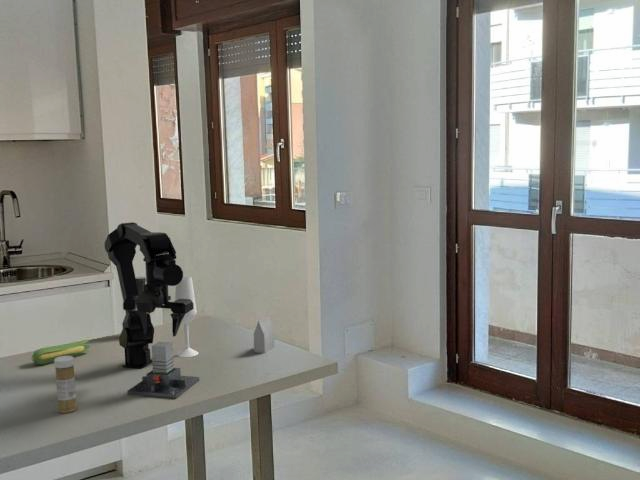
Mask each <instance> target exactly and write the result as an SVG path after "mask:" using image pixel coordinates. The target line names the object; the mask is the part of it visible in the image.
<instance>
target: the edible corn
mask: <svg viewBox="0 0 640 480" xmlns="http://www.w3.org/2000/svg"><path fill="white" fill-rule="evenodd" d="M89 341H90V340H89V339H84V340H79V341H74V342H69V343H64V344H59V345H53V346H47V347H45V346H44V347H40V348H39V349H36V350H34V352H33V354H32V356H31V361H32V362H34V363H35V364H36V365H40V366H44V365H48V364H53V363H54V360H55V358H57V357H60V356H72V357H74V358H75V357H80V356H83V355H87V353H88V352H89V351H88V350H89V349H90V348H91V345H88V344H86V343H88V342H89Z"/></svg>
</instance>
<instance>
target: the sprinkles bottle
mask: <svg viewBox="0 0 640 480" xmlns="http://www.w3.org/2000/svg"><path fill="white" fill-rule="evenodd" d="M74 358H75V357H72V356H60V357H57V358H55V360H54V362H53V363H54V364H53V366H54V369H55V384H56V393H57V394H56V395H57V404H58V406H57V407H58V412H59V413H61V414H68V413H73V412H75V411H76V410H78V406H77V386H76V385H77V384H76V377H75V368H74V367H75V359H74Z"/></svg>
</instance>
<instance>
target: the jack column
mask: <svg viewBox="0 0 640 480" xmlns="http://www.w3.org/2000/svg"><path fill="white" fill-rule="evenodd" d="M173 349H174V347H173V342H171V341H170V342H169V341H158V342H156V343H154V344H153V345H151V360H152V362H151V363H152V370H153V374H163V375H168V374H170V373H171V372H172V371H174V368H175V364H174V362H175V361H174V350H173Z"/></svg>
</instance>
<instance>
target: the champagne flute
mask: <svg viewBox="0 0 640 480" xmlns="http://www.w3.org/2000/svg"><path fill="white" fill-rule="evenodd" d="M174 297H175V298H174V301H176V300H178V299H191V300H192V302H193V307H194V309H193V310H191V311H189V312H188V313H186V314H185V315H184V317H183V319H182V321H181V324H184V341H185V342H184V343H185V344H184V345H185V347H184V349H183V348H182V350H180V351H178V352H177V354H176V356H177V357H180V358H190V357H195V356H198V355H199V352H198V351H197V350H195V349H193V348H191V347H190V337H189V336H190V333H189V324H190V323H191V322H192V321H193V320H194V318H195V317H196V315H197V312H198V311H197V310H198V309H197V303H196V295H195V291H194V282H193V277H192V276H189V275H187V276H185V275H183V278H182V280H181V282H180V283H179V284H177V285H175V296H174Z"/></svg>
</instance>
